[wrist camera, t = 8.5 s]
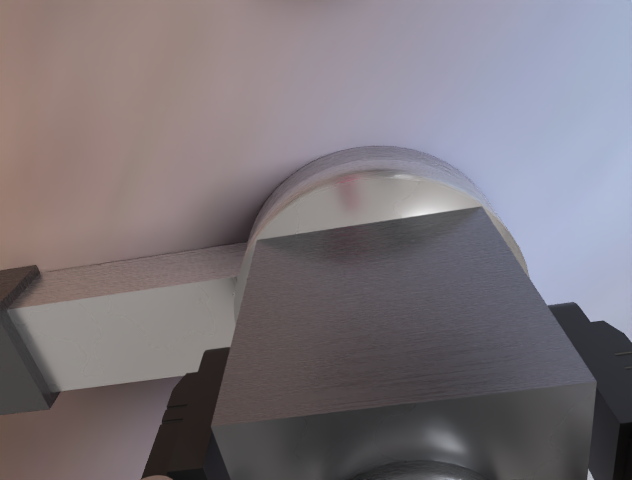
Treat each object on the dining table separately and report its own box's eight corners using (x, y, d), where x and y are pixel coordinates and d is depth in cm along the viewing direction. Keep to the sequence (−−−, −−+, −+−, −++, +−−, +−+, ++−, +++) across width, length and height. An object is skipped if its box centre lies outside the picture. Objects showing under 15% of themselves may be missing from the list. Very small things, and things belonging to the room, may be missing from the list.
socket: (298, 401, 16) (282, 673, 10) (256, 240, 13) (199, 472, 7) (487, 379, 15) (594, 651, 9) (482, 206, 13) (626, 426, 7)
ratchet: (-153, 432, 20) (-323, 599, 15) (-301, 256, 17) (-597, 394, 11) (503, 350, 18) (579, 514, 13) (500, 123, 14) (606, 218, 9)
